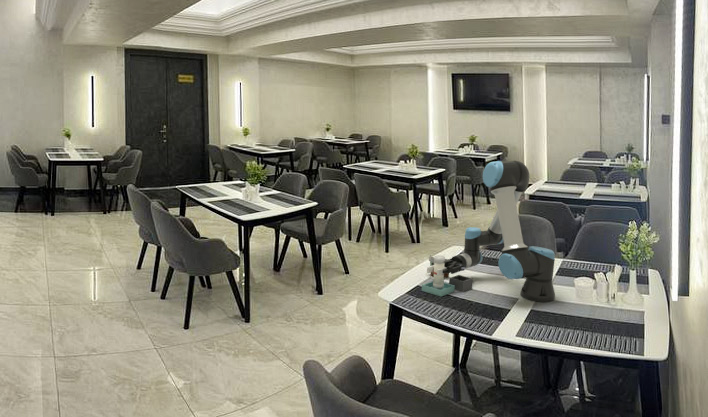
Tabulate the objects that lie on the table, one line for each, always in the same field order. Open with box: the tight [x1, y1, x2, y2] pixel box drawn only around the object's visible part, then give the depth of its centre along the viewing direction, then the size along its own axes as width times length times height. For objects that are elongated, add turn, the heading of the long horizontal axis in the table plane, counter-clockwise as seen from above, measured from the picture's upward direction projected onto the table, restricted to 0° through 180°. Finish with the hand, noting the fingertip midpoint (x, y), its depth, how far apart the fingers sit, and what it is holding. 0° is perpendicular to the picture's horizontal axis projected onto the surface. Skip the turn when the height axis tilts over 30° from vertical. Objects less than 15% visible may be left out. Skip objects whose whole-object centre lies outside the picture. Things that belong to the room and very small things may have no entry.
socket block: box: [448, 274, 474, 293], centre depth 280 cm, size 8×8×5 cm
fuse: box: [432, 255, 446, 290], centre depth 273 cm, size 5×5×15 cm
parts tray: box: [421, 280, 456, 297], centre depth 275 cm, size 11×11×3 cm
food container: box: [428, 254, 451, 279], centre depth 296 cm, size 12×6×10 cm, turn 62°
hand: (432, 271), depth 269 cm, fingers closed on fuse, 5 cm apart
